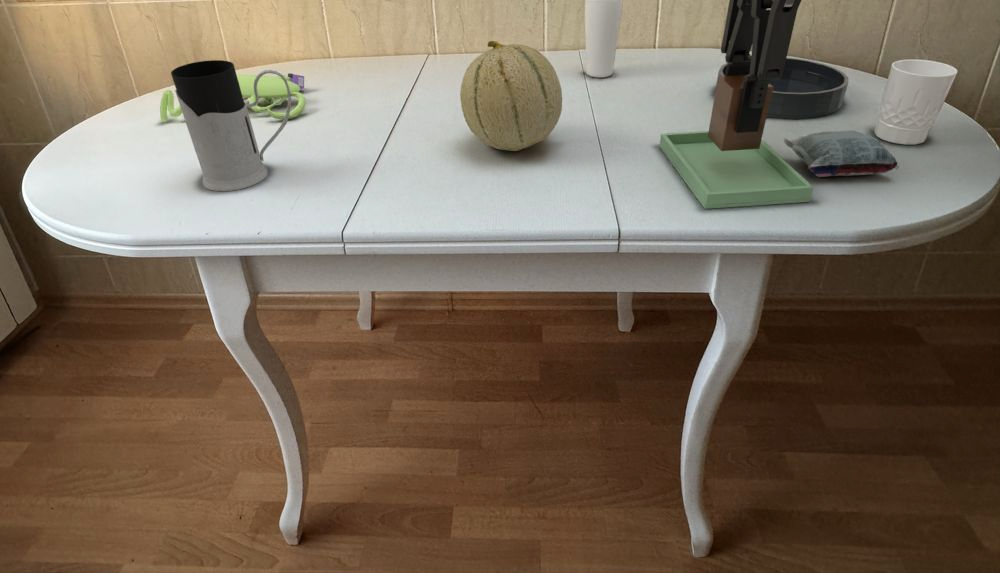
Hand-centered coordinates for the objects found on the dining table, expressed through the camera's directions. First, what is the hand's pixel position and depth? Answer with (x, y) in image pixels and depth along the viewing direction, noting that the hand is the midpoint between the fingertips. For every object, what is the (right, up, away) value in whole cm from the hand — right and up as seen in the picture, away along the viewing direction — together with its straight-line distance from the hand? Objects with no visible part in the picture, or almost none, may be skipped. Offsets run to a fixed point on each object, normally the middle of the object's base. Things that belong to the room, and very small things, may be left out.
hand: (737, 122), depth 80 cm
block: (0, -2, +2) cm, 3 cm away
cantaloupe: (-29, 0, +13) cm, 32 cm away
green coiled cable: (-78, +11, +32) cm, 85 cm away
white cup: (+29, +1, +12) cm, 31 cm away
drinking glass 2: (-11, +20, +40) cm, 46 cm away
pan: (+17, +11, +27) cm, 34 cm away
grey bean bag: (+15, -5, +4) cm, 16 cm away
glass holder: (-65, -5, +8) cm, 66 cm away
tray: (0, -6, +4) cm, 7 cm away
